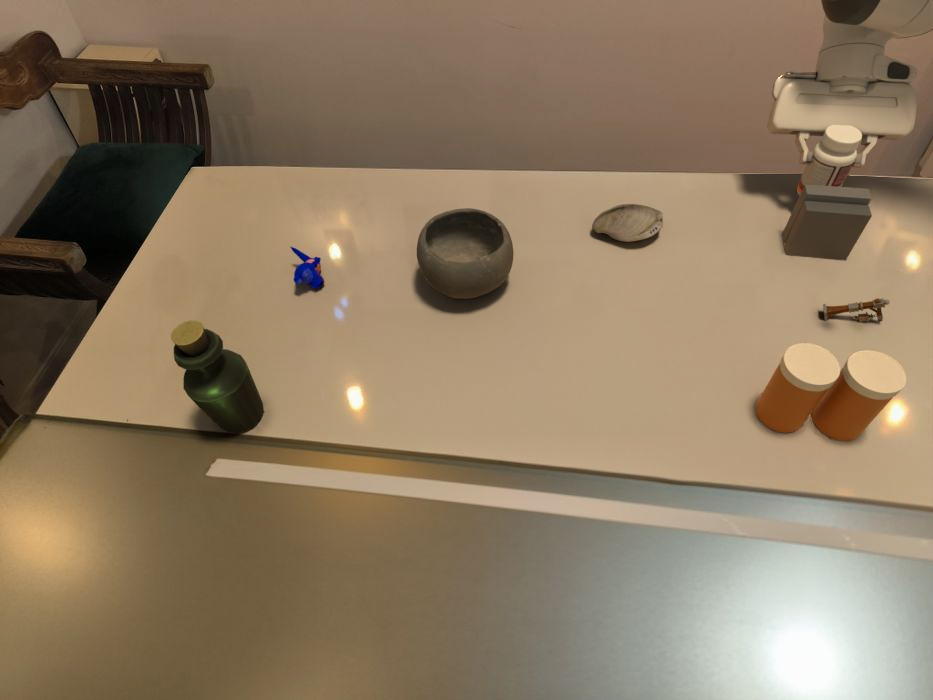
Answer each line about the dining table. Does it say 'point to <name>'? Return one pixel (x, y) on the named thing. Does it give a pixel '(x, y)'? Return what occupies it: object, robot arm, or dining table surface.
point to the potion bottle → (216, 378)
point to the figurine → (308, 270)
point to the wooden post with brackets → (856, 307)
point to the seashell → (629, 222)
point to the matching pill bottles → (829, 390)
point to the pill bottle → (832, 157)
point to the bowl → (465, 252)
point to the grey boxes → (827, 221)
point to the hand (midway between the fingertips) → (831, 165)
